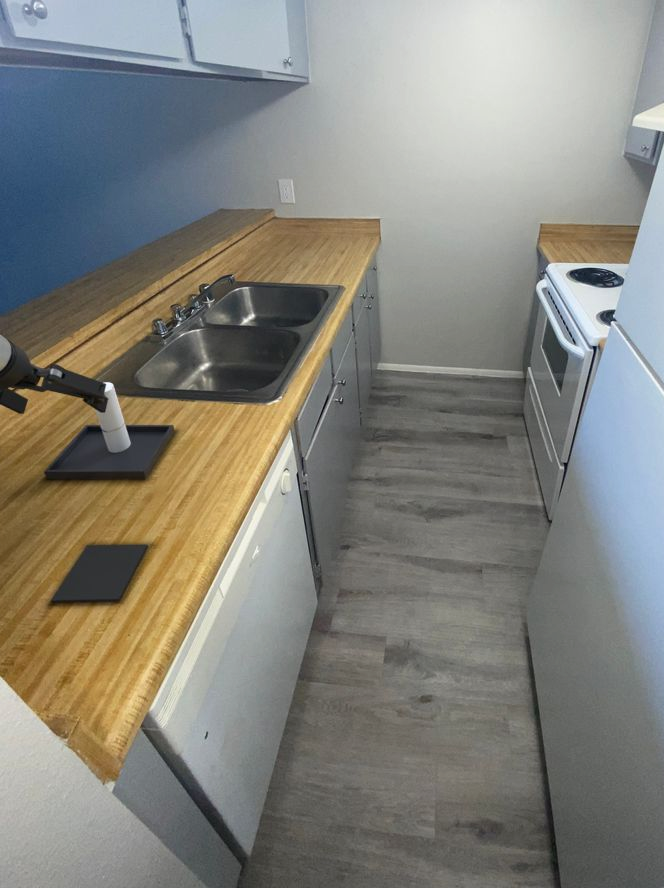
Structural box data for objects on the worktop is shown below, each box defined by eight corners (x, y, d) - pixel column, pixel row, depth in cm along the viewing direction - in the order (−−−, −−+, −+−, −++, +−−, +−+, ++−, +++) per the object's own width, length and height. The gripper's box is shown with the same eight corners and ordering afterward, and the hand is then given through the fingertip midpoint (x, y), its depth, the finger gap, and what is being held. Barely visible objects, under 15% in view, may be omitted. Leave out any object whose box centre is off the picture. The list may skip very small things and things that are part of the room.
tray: (46, 479, 94) (43, 471, 93) (88, 431, 107) (86, 424, 106) (145, 478, 95) (143, 471, 94) (175, 431, 108) (173, 424, 107)
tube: (133, 439, 105) (116, 381, 98) (126, 451, 101) (108, 392, 94) (112, 440, 104) (94, 382, 97) (104, 453, 100) (85, 394, 93)
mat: (51, 602, 71) (50, 600, 71) (87, 547, 80) (86, 545, 80) (119, 601, 72) (118, 599, 72) (148, 546, 81) (147, 544, 80)
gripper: (85, 335, 70) (141, 386, 89) (-105, 334, 67) (-5, 387, 86) (72, 382, 66) (133, 424, 86) (-128, 383, 63) (-18, 427, 82)
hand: (64, 406), depth 86 cm, fingers open, 13 cm apart
